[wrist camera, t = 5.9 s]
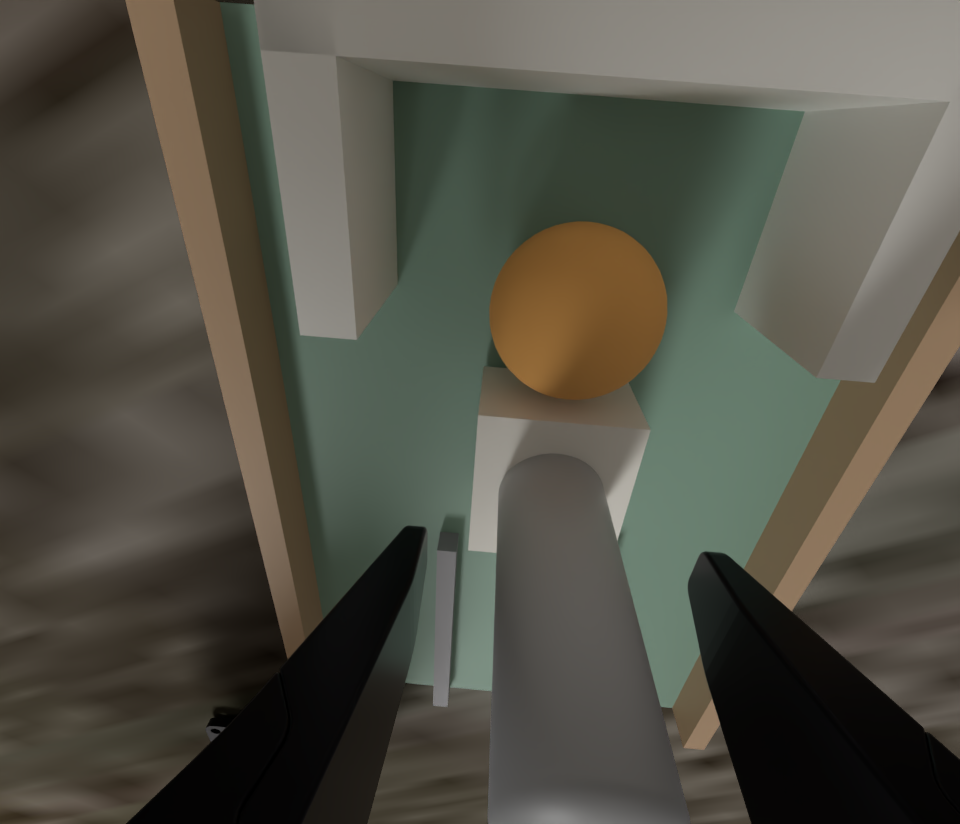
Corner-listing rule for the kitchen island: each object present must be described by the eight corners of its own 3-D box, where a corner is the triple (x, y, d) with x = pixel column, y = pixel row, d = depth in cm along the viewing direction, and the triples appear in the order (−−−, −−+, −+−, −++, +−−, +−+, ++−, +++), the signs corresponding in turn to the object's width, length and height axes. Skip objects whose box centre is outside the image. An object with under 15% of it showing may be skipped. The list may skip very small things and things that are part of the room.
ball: (722, 285, 7) (670, 200, 10) (490, 266, 7) (499, 187, 10) (651, 442, 10) (625, 342, 12) (479, 427, 10) (488, 330, 12)
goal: (776, 314, 11) (875, 382, 8) (356, 281, 11) (300, 335, 8) (883, 50, 9) (1084, 6, 6) (337, 10, 9) (245, -55, 6)
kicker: (595, 499, 14) (687, 895, 7) (474, 488, 14) (435, 870, 7) (626, 378, 12) (806, 761, 5) (483, 366, 12) (442, 727, 5)
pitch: (685, 690, 20) (703, 749, 19) (320, 656, 21) (300, 711, 19) (1010, 68, 9) (1145, 50, 7) (201, 8, 9) (119, -24, 7)
